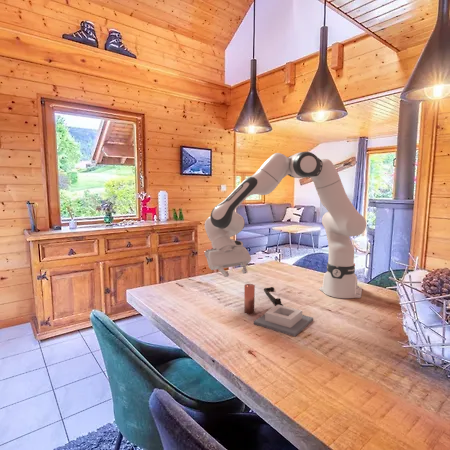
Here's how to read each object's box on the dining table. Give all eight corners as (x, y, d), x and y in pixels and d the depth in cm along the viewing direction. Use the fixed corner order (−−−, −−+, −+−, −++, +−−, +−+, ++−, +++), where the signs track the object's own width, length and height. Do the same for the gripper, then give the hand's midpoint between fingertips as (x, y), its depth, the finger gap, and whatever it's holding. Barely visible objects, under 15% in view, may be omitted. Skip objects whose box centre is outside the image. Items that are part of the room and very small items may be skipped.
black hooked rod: (274, 294, 147) (290, 313, 117) (263, 295, 147) (277, 314, 117) (273, 283, 147) (290, 300, 117) (263, 284, 147) (277, 301, 117)
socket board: (274, 310, 122) (274, 300, 122) (313, 320, 113) (313, 309, 112) (253, 323, 110) (253, 313, 109) (295, 336, 100) (295, 325, 100)
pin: (247, 309, 123) (248, 283, 122) (256, 311, 120) (256, 285, 119) (242, 312, 120) (242, 285, 118) (250, 315, 117) (251, 287, 116)
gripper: (205, 245, 126) (217, 274, 118) (245, 241, 137) (258, 267, 129) (200, 254, 130) (212, 282, 123) (239, 249, 141) (252, 274, 134)
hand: (236, 274), depth 126 cm, fingers open, 8 cm apart
